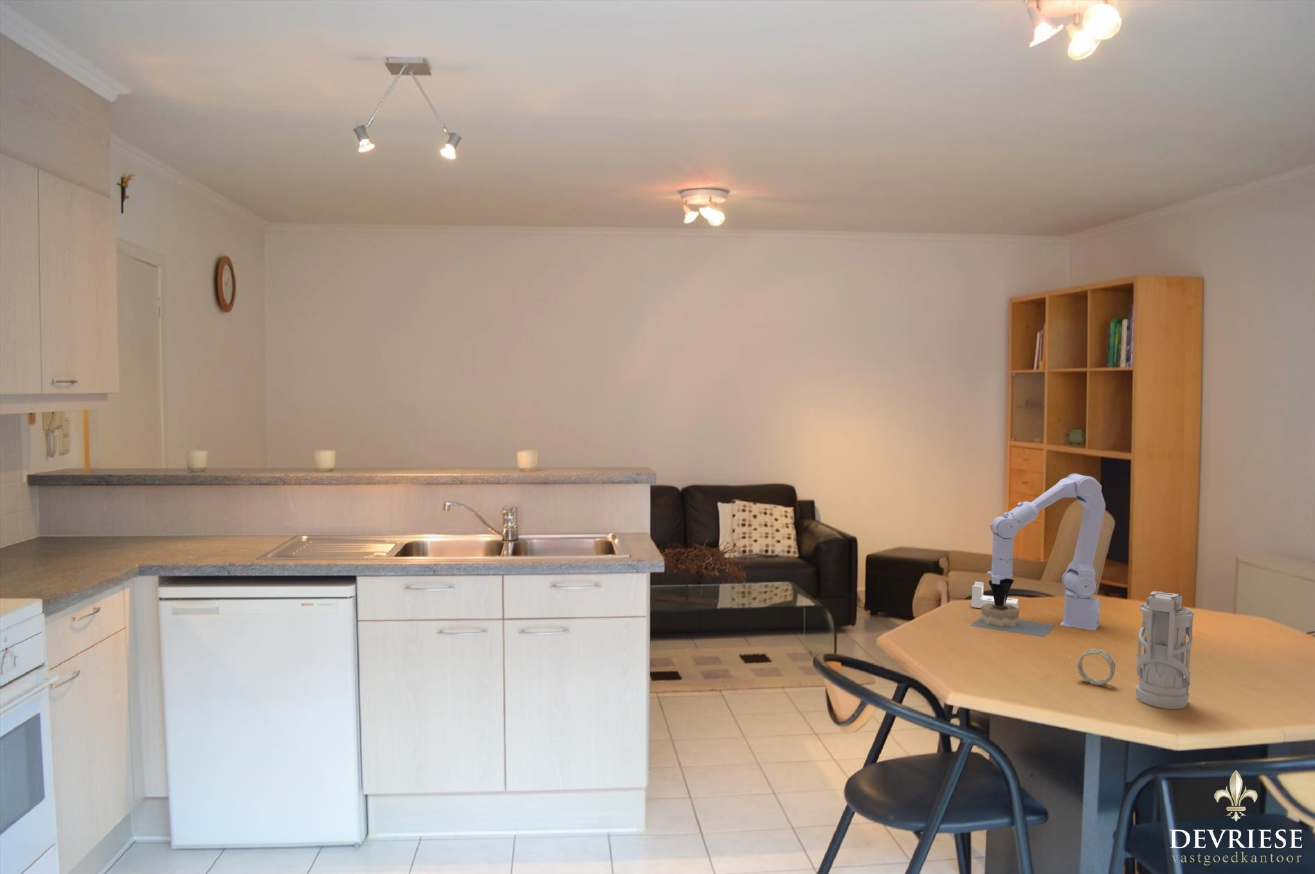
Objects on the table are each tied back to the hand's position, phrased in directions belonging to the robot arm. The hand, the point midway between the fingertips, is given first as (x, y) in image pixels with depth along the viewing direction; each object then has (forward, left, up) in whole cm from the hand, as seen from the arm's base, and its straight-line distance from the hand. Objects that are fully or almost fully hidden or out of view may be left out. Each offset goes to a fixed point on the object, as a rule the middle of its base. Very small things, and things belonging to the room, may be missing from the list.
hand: (1000, 604), depth 275 cm
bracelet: (-32, +45, -6) cm, 56 cm away
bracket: (+6, -18, -6) cm, 20 cm away
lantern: (-46, +51, -6) cm, 69 cm away
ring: (0, 0, -5) cm, 5 cm away
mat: (-4, +1, -6) cm, 7 cm away
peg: (0, 0, -3) cm, 3 cm away
